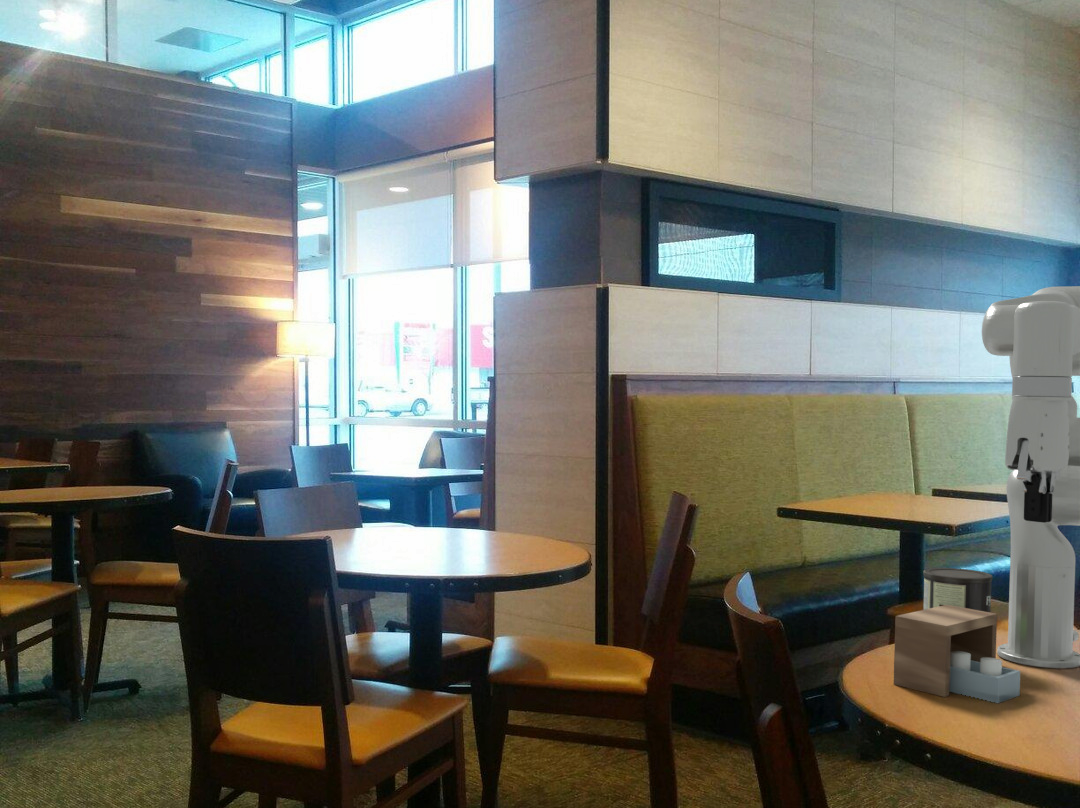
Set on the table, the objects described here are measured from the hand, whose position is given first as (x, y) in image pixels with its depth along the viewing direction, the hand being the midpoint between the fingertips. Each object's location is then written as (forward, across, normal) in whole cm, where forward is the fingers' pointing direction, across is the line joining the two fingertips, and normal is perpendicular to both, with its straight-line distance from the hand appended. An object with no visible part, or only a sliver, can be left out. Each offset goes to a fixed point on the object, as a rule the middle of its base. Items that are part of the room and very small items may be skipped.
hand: (1037, 520), depth 150 cm
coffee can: (+25, -12, -18) cm, 33 cm away
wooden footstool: (+25, +2, -12) cm, 28 cm away
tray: (+25, +3, -7) cm, 26 cm away
